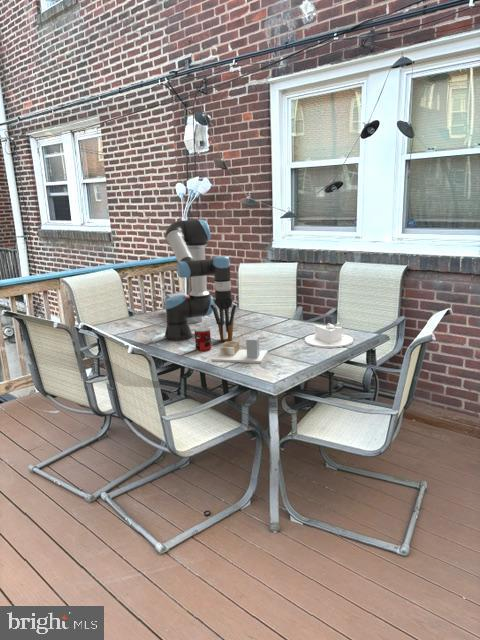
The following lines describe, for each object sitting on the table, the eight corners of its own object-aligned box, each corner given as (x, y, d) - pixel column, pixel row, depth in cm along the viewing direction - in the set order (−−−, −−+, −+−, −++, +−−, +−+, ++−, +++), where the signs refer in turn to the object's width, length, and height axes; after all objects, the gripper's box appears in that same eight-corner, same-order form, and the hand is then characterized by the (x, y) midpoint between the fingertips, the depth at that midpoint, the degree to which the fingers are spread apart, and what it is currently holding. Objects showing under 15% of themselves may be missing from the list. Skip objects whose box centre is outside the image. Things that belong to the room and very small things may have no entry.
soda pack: (166, 313, 326) (165, 293, 323) (184, 310, 331) (183, 291, 328) (183, 325, 290) (181, 303, 286) (202, 322, 295) (201, 301, 291)
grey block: (247, 358, 219) (246, 339, 217) (249, 354, 224) (248, 336, 221) (257, 358, 218) (256, 340, 215) (259, 355, 222) (258, 337, 220)
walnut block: (219, 347, 224) (225, 341, 233) (220, 355, 225) (226, 348, 234) (233, 347, 222) (239, 341, 231) (234, 355, 223) (239, 349, 232)
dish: (362, 340, 243) (362, 319, 240) (334, 351, 226) (334, 329, 224) (323, 332, 260) (323, 313, 258) (295, 343, 244) (295, 322, 241)
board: (211, 360, 220) (211, 358, 220) (221, 350, 235) (221, 348, 235) (261, 363, 214) (260, 361, 214) (267, 352, 229) (267, 350, 229)
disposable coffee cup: (237, 337, 256) (236, 316, 254) (231, 342, 248) (230, 321, 245) (221, 337, 260) (220, 316, 257) (215, 341, 251) (213, 320, 248)
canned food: (195, 347, 242) (194, 327, 239) (211, 346, 243) (209, 326, 240) (195, 352, 235) (194, 331, 232) (211, 351, 235) (210, 330, 233)
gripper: (207, 291, 213) (210, 340, 219) (234, 291, 210) (236, 341, 216) (212, 288, 220) (215, 335, 226) (238, 288, 217) (240, 336, 223)
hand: (225, 338), depth 221 cm, fingers closed
